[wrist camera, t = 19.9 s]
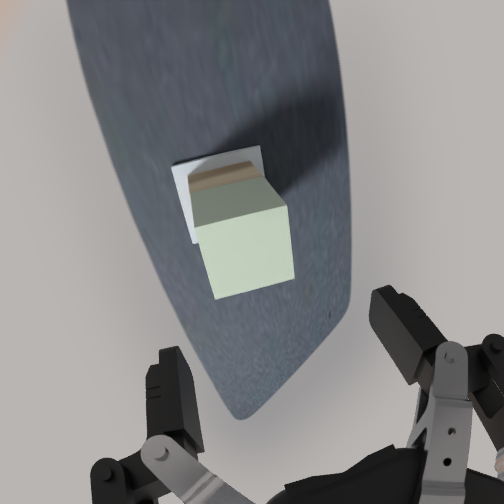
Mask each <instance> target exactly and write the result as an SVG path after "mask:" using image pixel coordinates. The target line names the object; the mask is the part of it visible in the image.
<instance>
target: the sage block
mask: <svg viewBox="0 0 504 504" xmlns="http://www.w3.org/2000/svg"><path fill="white" fill-rule="evenodd" d="M190 198H191V206H192V214H193V221H194V228H195V232H196V235H197V239H198V242H199V246H200V249H201V253H202V256H203V260H204V263H205V267H206V270H207V274H208V277H209V280H210V284H211V287H212V290H213V294H214V297H215V299H219V298H223V297H227V296H231V295H235V294H239V293H242V292H246V291H250V290H254V289H258V288H261V287H265V286H269V285H272V284H276V283H280V282H283V281H287V280H291V279H294V268H293V258H292V248H291V238H290V229H289V220H288V211H287V205H286V204H285V202H284V201H283V200H282V199H281V197H280V196H279V195H278V194H277V192H276V191H275V190H274V189H273V187H272V186H271V185H270V184H269V182H268V181H267V180H266V179H265V178H264V176H262V177H257V178H253V179H248V180H244V181H240V182H235V183H231V184H227V185H223V186H218V187H214V188H210V189H206V190H202V191H198V192H194V193H190Z"/></svg>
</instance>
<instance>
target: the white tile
mask: <svg viewBox="0 0 504 504" xmlns="http://www.w3.org/2000/svg"><path fill="white" fill-rule="evenodd" d="M246 161H251V162H252V164H253V165H254V166H255V167H256V168H257V170H258V171H259V172H260V173H261V175H262V176H264V178H265V175H264V168H263V162H262V155H261V149H260V146H259V145H257V146H252V147H248V148H243V149H238V150H234V151H229V152H225V153H221V154H216V155H212V156H208V157H204V158H200V159H196V160H192V161H188V162H184V163H180V164H177V165H173V166H171V168H172V172H173V176H174V179H175V183H176V187H177V190H178V194H179V198H180V201H181V205H182V208H183V212H184V215H185V219H186V222H187V226H188V229H189V232H190V236H191V239H192V242H193V244H195V243H199V242H198V239H197V235H196V232H195V228H194V221H193V214H192V206H191V198H190V194H189V187H188V178H187V175H191V174H195V173H199V172H203V171H207V170H211V169H216V168H220V167H224V166H228V165H233V164H237V163H241V162H246Z"/></svg>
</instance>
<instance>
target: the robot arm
mask: <svg viewBox="0 0 504 504" xmlns="http://www.w3.org/2000/svg"><path fill="white" fill-rule="evenodd" d="M369 321H370V325H371V327H372V329H373V330H374V332H375V333H376V335H377V336H378V338H379V339H380V341H381V343H382V344H383V345H384V347H385V349H386V350H387V352H388V353H389V355H390V356H391V358H392V359H393V361H394V362H395V364H396V366H397V367H398V369H399V370H400V372H401V374H402V375H403V377H404V378H405V380H406V382H407V383H408V385H411V384H413V383H415V382H418V383H419V385H420V388H419V393H418V400H417V406H416V412H415V418H414V424H413V428H412V431H411V434H410V436H409V439H408V442H407V446H406V448H398V449H395V447H394V445H393V444H392V445H390V446H388V447H385V448H383V449H381V450H379V451H377V452H375V453H372V454H370V455H368V456H367V457H365V458H364V459H363V460H361V461H360V462H358V463H357V464H355V465H354V466H353V467H351V468H350V469H348V470H347V471H345V472H343V473H337V474H329V475H320V476H312V477H309V478H306V479H302V480H299V481H296V482H292V483H289V484H285V485H284V486H285V490H283V491H281V492H280V493H278V494H277V495H275V496H274V497H273V498H272V499H270V500H269V501H268V502H267V504H504V337H502V336H501V335H498V334H490V335H488V336H486V337H485V339H484V340H483V342H482V344H479V345H473V346H467V347H463V346H462V345H460V344H459V343H456V342H453V341H448V340H447V339H446V338H445V337H444V336H443V335H442V333H441V332H440V331H439V329H438V328H437V327H436V326H435V324H434V323H433V322H432V321H431V320H430V318H429V317H428V316H426V313H425V312H424V311H423V310H422V309H420V306H419V305H418V304H417V303H416V302H415V300H414V299H413V298H411V297H409V296H407V295H406V294H404V293H401V294H398V293H397V292H396V291H395V289H394V288H393V287H392V286H391V285H387V286H384V287H381V288H378V289H375V290H373V291H372V295H371V303H370V310H369ZM494 381H495V382H494ZM496 384H497V385H496ZM497 386H498V387H497ZM499 389H500V390H499ZM501 392H502V393H501ZM468 399H469V400H468ZM473 408H474V410H475V411H476V413H477V415H478V417H479V418H480V420H481V422H482V424H483V426H484V427H485V429H486V431H487V432H488V435H489V436H490V439H491V440H492V442H493V444H494V446H495V448H496V450H497V452H498V453H497V456H496V463H495V470H496V471H497V472H498V477H497V478H495V477H492V476H489V475H486V474H483V473H480V472H477V471H474V470H471V469H469V468H467V461H468V454H469V446H470V437H471V425H472V409H473ZM146 416H147V439H146V442H145V443H144V444H143V446H142V448H141V449H140V450H139V451H138V452H136V453H134V454H132V455H130V456H128V457H126V458H124V459H121V460H119V461H116V460H115V459H112V458H102V459H100V460H98V461H97V462H96V463H95V464H94V465H93V467H92V469H91V473H90V478H91V491H92V503H93V504H159V503H158V498H159V497H161V496H163V495H165V494H168V493H170V492H173V493H174V494H175V495H176V496H177V497H178V498H180V499H181V500H182V501H183V503H184V504H255V503H253V502H252V501H250V500H249V499H248V498H246V497H245V496H243V495H242V494H241V493H239V492H238V491H236V490H235V489H234V488H232V487H231V486H230V485H228V484H227V483H226V482H224V481H223V480H222V479H220V478H219V477H218V476H216V475H214V474H213V473H212V472H210V471H209V470H208V469H207V468H205V467H204V466H203V465H202V464H201V463H199V462H198V456H197V453H202V452H204V446H203V440H202V434H201V428H200V421H199V415H198V408H197V402H196V394H195V387H194V381H193V376H192V373H191V370H190V367H189V365H188V363H187V362H186V360H185V358H184V356H183V354H182V352H181V350H180V348H179V346H174V347H169V348H165V349H161V350H159V364H155V365H151V366H150V368H149V370H148V372H147V375H146Z"/></svg>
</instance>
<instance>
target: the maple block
mask: <svg viewBox="0 0 504 504" xmlns="http://www.w3.org/2000/svg"><path fill="white" fill-rule="evenodd" d="M257 177H262V175H261V173H260V172H259V171H258V170H257V168H256V167H255V166H254V165H253V164H252V162H251V161H246V162H241V163H237V164H233V165H228V166H224V167H220V168H216V169H211V170H207V171H203V172H199V173H195V174H191V175H187V178H188V187H189V194H190V193H194V192H198V191H202V190H206V189H210V188H214V187H218V186H223V185H227V184H231V183H235V182H240V181H244V180H248V179H253V178H257Z"/></svg>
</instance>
